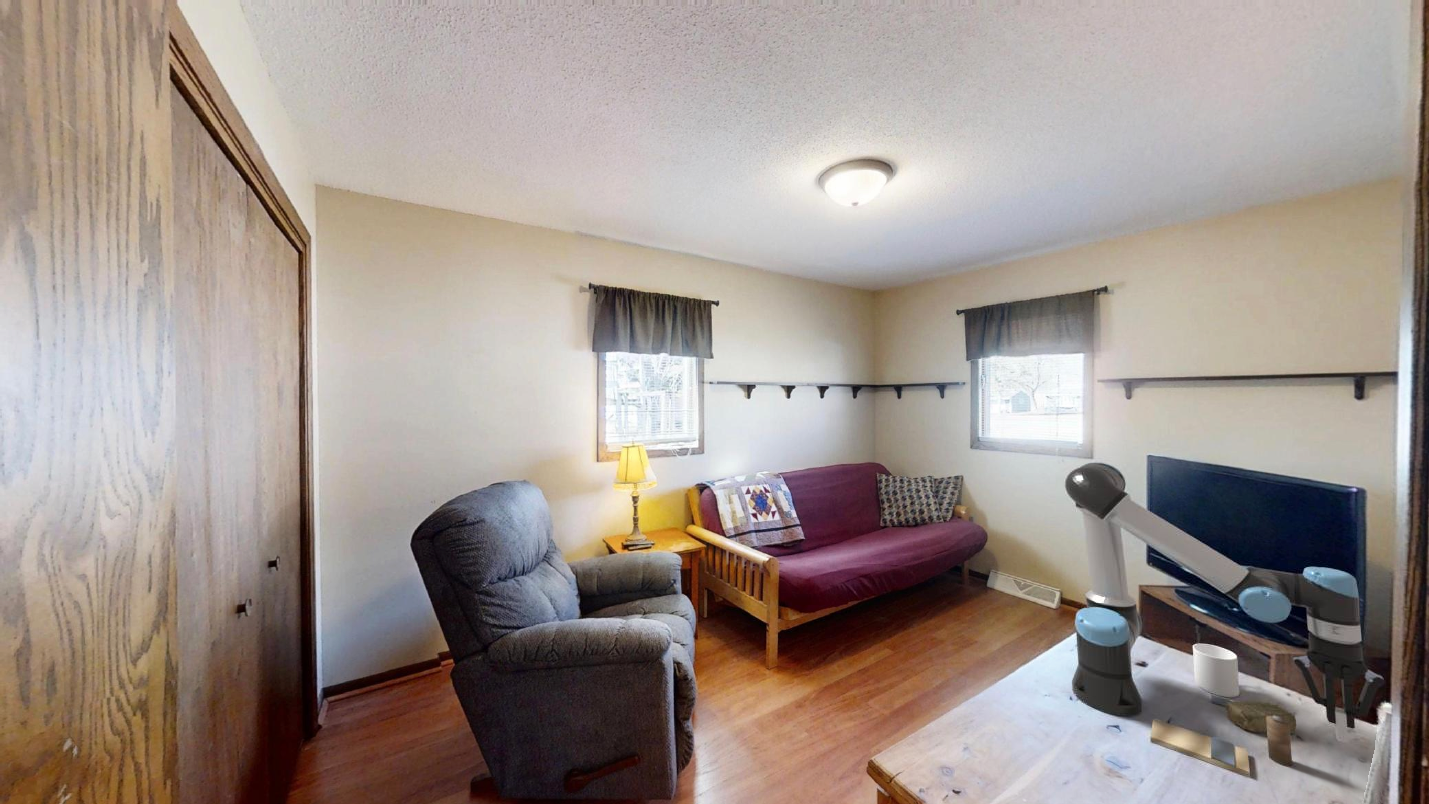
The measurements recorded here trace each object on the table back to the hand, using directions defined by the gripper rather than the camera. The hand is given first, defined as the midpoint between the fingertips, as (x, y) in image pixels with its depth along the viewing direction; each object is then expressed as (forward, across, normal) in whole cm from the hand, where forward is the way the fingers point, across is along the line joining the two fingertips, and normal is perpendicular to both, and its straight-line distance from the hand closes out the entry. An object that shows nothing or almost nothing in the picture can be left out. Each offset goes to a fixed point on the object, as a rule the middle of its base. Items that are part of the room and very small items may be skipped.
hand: (1341, 738), depth 107 cm
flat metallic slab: (+3, -23, -8) cm, 25 cm away
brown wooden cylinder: (+3, -10, -13) cm, 17 cm away
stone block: (+4, -12, 0) cm, 13 cm away
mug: (+3, -19, +16) cm, 25 cm away
